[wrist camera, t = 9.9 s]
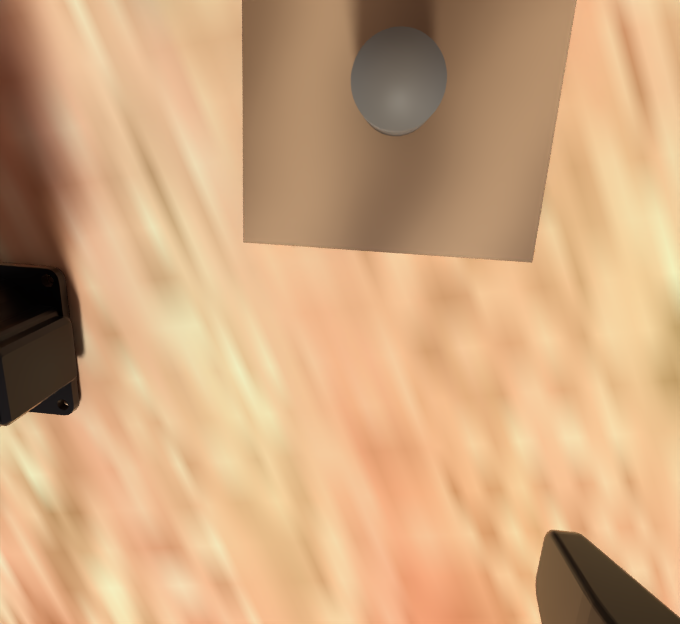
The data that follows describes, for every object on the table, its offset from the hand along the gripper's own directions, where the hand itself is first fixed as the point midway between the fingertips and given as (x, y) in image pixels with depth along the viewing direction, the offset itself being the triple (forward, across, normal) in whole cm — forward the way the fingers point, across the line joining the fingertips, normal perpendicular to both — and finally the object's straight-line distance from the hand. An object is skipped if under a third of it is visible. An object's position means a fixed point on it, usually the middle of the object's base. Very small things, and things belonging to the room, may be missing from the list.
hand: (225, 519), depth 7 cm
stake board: (+13, -2, -7) cm, 15 cm away
